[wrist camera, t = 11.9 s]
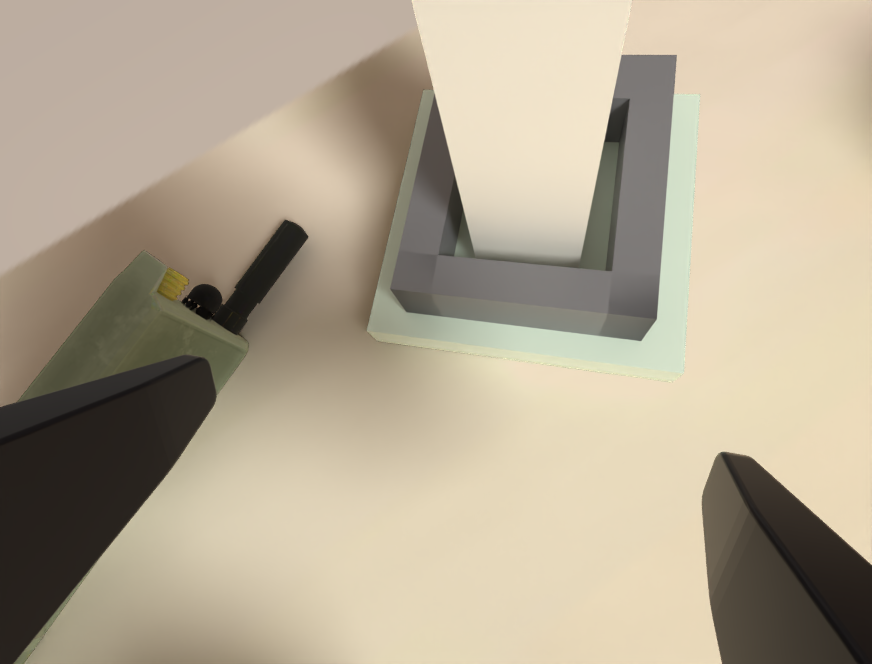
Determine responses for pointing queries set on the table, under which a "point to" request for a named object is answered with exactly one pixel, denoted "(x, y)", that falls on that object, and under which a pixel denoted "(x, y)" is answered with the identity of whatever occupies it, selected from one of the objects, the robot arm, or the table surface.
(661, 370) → the socket board
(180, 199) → the table surface
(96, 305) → the handheld radio
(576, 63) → the plug
